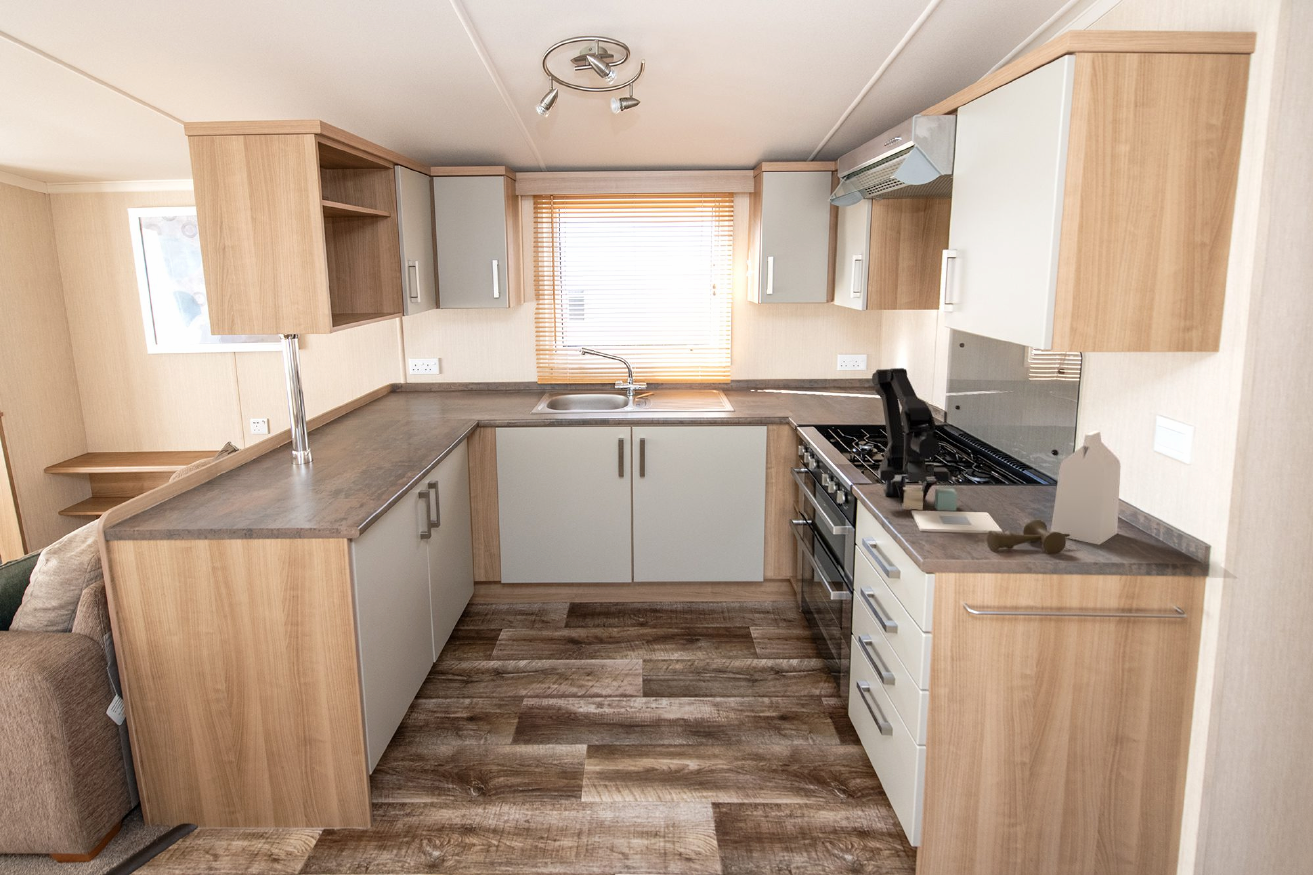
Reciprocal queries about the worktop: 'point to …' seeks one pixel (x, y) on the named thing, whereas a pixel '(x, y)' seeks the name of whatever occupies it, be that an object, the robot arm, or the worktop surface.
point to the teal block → (945, 499)
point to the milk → (1088, 493)
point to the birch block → (913, 498)
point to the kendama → (1028, 538)
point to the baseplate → (955, 521)
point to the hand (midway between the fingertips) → (912, 503)
